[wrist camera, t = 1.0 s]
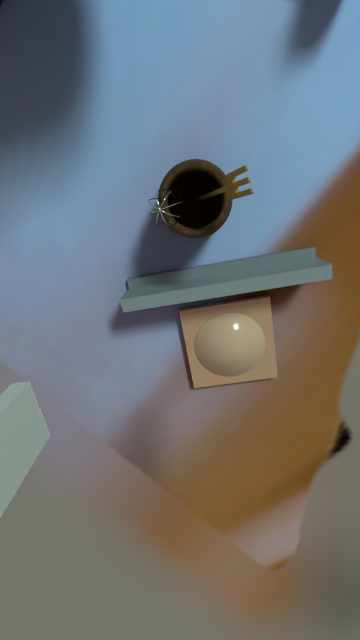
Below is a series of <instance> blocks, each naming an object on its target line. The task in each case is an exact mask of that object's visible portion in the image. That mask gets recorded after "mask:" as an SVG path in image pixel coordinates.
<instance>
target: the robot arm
mask: <svg viewBox="0 0 360 640" xmlns="http://www.w3.org/2000/svg"><path fill="white" fill-rule="evenodd" d="M1 2H2V0H0V4H1ZM49 437H50V433H49V430H48V427H47V425H46V422H45V420H44V417H43V415H42V412H41V410H40V407H39V405H38V402H37V400H36V397H35V395H34V392H33V390H32V387H31V385H30V382H22V383H14V384H11V385H10V386H9V387H8V388H7V389H6V390H5V391H4V392H3V393H2V394H1V395H0V518H1V516H2V515H3V513H4V511H5V510H6V508H7V506H8V505H9V503H10V501H11V500H12V498H13V496H14V495H15V493H16V491H17V490H18V488H19V487H20V485H21V483H22V482H23V480H24V478H25V476H26V475H27V473H28V472H29V470H30V468H31V467H32V465H33V463H34V462H35V460H36V458H37V457H38V455H39V454H40V452H41V450H42V449H43V447H44V445H45V444H46V442H47V440H48V439H49Z"/></svg>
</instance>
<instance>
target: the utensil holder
mask: <svg viewBox="0 0 360 640" xmlns="http://www.w3.org/2000/svg"><path fill="white" fill-rule="evenodd" d="M247 169H248V168H247V166H246V165H245V166H243V167H241V168H239V169H237V170H235V171H233V172H231V173H229V174H227V175H225V174H224V172H223V171H222V170H221V169H220V168H219V167H217V166H216V165H214V164H213V163H211V162H208V161H205V160H201V159H191V160H187V161H183V162H181V163H179V164H177V165H176V166H174V167H173V168H172V169H171V170H170V171H169V172H168V173H167V174H166V176H165V177H164V179H163V181H162V183H161V186H160V189H159V190H158V191H159V194H158V198H157V194H156V198H153V199H158V200H157V203H158V207H159V209H158V208H157V209H158V210H157V211H154V212H152V213H155V212H158V211H159V212H160V213H161V216H162V218H163V220H164V222H165V223H166V224H167V225H168V227H169V228H170V229H171V230H173V231H174V232H175V233H177V234H179V235H181V236H183V237H187V238H203V237H206V236H209V235H211V234H213V233H214V232H216V231H217V230H218V229H219V228H220V227H221V226H222V225H223V224H224V223H225V221H226V220H227V218H228V216H229V214H230V211H231V207H232V199H236V198H239V197H243V196H247V195H250V194H253V189H252V188H250V189H247V190H244V191H241V192H239V190H238V187H239V186H242V185H244V184H247V183H250V178H249V177H246V178H244V179H242V180H239V181H236V179H235V176H237V175H239V174H242V173H244V172H246V171H247ZM158 191H157V192H158ZM149 200H152V199H149ZM149 200H148V202H149ZM149 203H150V202H149ZM150 204H151V203H150ZM151 205H152V204H151ZM152 206H153V205H152ZM153 207H155V206H153ZM155 208H156V207H155ZM159 212H158V214H159ZM152 213H149V214H152ZM149 214H148V215H149ZM157 217H158V215H157ZM164 222H162V223H164ZM162 223H160V224H162ZM156 224H157V218H156ZM157 225H159V224H157Z"/></svg>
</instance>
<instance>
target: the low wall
mask: <svg viewBox="0 0 360 640" xmlns="http://www.w3.org/2000/svg"><path fill="white" fill-rule="evenodd" d="M329 279H332V264H330V263H327V262H325V261H323V260H321V259H319V258H317V257H316V249H315V247H314V246H312V247H306V248H300V249H295V250H289V251H283V252H277V253H272V254H266V255H260V256H254V257H249V258H243V259H237V260H231V261H226V262H220V263H214V264H208V265H202V266H197V267H191V268H185V269H179V270H174V271H168V272H162V273H156V274H151V275H145V276H139V277H133V278H128V279H127V283H128V287H129V289H128V290H127V292H126V293H125V294H124V295H123V297H122V298H121V299H120V303H121V306H122V310H123V313H124V312H130V311H136V310H143V309H149V308H155V307H161V306H167V305H174V304H180V303H186V302H192V301H198V300H205V299H211V298H217V297H223V296H230V295H236V294H242V293H248V292H254V291H261V290H267V289H273V288H279V287H285V286H292V285H298V284H304V283H310V282H317V281H323V280H329Z"/></svg>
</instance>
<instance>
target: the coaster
mask: <svg viewBox="0 0 360 640" xmlns="http://www.w3.org/2000/svg"><path fill="white" fill-rule="evenodd" d="M179 314H180V319H181V324H182V329H183V334H184V339H185V344H186V349H187V355H188V360H189V365H190V370H191V375H192V380H193V385H194V388H199V387H207V386H215V385H222V384H230V383H238V382H246V381H253V380H261V379H269V378H277V377H278V375H277V365H276V354H275V344H274V333H273V323H272V312H271V301H270V296H269V295H263V296H257V297H251V298H245V299H238V300H232V301H226V302H219V303H213V304H207V305H201V306H194V307H188V308H182V309H179Z"/></svg>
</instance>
